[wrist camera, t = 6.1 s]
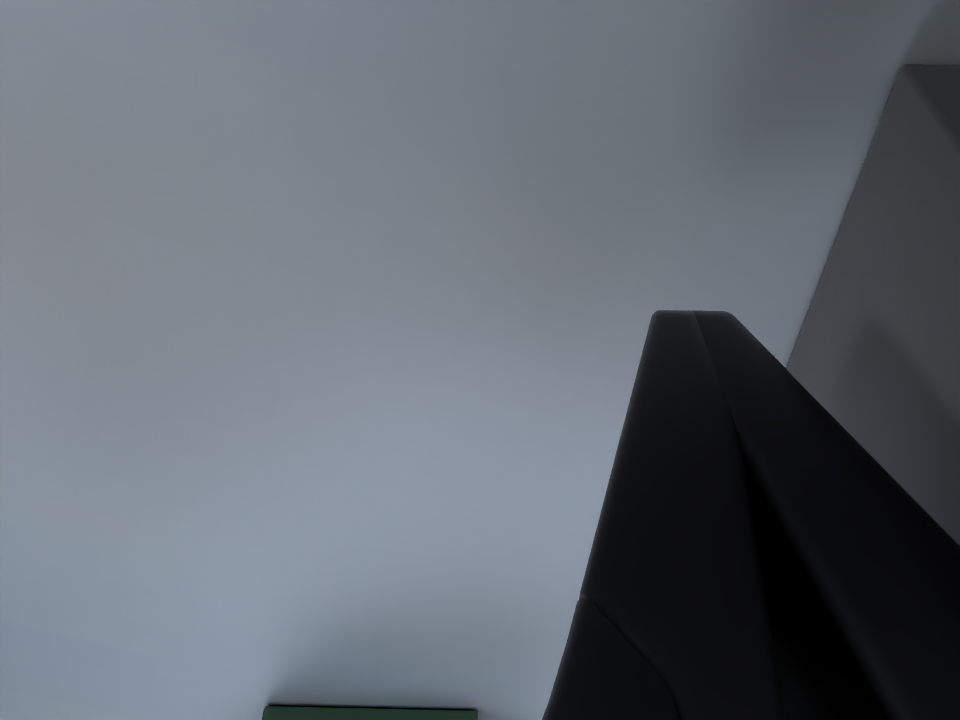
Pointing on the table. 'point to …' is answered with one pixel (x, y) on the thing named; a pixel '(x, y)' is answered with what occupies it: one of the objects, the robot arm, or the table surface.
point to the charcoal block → (898, 298)
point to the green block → (362, 714)
